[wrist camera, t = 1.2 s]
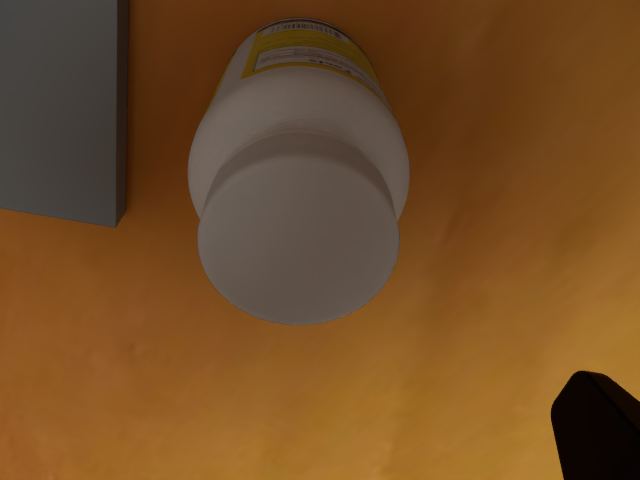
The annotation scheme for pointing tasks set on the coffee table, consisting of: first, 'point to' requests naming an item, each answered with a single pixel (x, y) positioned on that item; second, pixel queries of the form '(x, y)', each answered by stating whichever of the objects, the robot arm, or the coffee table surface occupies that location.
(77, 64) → the mount plate
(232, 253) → the supplement bottle
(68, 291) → the coffee table surface
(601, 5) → the coffee table surface
